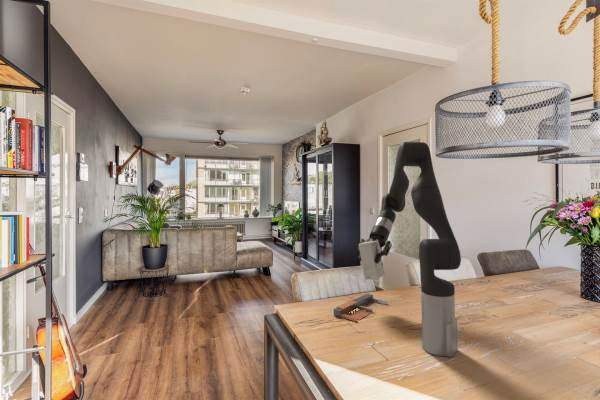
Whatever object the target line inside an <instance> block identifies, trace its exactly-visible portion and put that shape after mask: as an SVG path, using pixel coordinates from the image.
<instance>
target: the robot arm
mask: <svg viewBox="0 0 600 400" xmlns="http://www.w3.org/2000/svg"><path fill="white" fill-rule="evenodd" d="M394 164H395V165H394V171H393V178H392V182H391V185H390V187H389V191H388V192H387V193H385V194H384V195H383V196H382V198H381V205H380V206H381V207H380V212H379V215H378V217H377V219H376V221H375V222H374V224H373V226H372V229H371V231H370V233H369V237H368V239H364V238H361V239H360V241H359V244H361V243H365V242H371V241H376V246H377V249H378V253H377V255H376V257H375V260H374V262H375V263H376V264H378V263H379V262H380V260H381V257H387V256H388V255H389V253H390V251H391V249H392V247H393V244H392V242H391V240H388V239H389V236H390V234H391V231H392V229H393V225H394V222H395V220H396V218H397V214H396V213H400V212H402V211H404V209H405V208H406V194H407V192H408V189H409V186H410V180H409V177H408V175H407V173H406V171H405V169H404V168H405V167H418V168H420V172H419V173H420V174H419V176H418V177H417V178H416V180H415V182H414V184H413V185H412V188H411V190H410V196H411V201H412V205H413V209H414V211H415V212H416V213H417V214H418V216H419V217H420V218H421V219H422V220H423V221H424V222H425V223H427V224H428V225H429V226H430V227H431V228H432V229H433V230H434V232H435V234H436V235H437V237H438V238H424V239H422V240H421V241H420V243H419V246H418V258H419V270H420V271H419V272H420V273H419V274H420V290H421V294H420V295H421V298H420V299H421V346H422V349H423V350H424V351H425V352H427V353H428V354H431V355H435V356H440V357H449V358H452V357H453V356H454V355H455V354H456V353H457V351H458V350H459V349H458V348H459V347H458V346H459V345H458V343H459V342H458V341H459V340H458V338H459V337H458V335H459V334H458V318H457V317H456V305H455V304H456V303H455V302H456V301H455V300H456V294H455V288H456V287H455V285H454V283H452V282H451V281H449V280H446V279H443V278H440V277H438V276H436V274H435V271H453V270H457V269H459V268H460V266H461V263H462V258H461V256H462V255H461V251H460V247H459V244H458V242H457V238H456V237H455V234H454V231H453V229H452V227H451V225H450V222H449V219H448V216H447V213H446V212H447V211H446V209H445V205H444V201H443V197H442V194H441V191H440V188H439V185H438V181H437V178H436V175H435V170H434V166H433V159H432V154H431V150H430V146H429V145H428V144H427V142H424V141H422V142H421V141H403V142H401V143H400V145H399V146H398V149H397V154H396V158H395V163H394ZM383 247H384V248H383ZM357 250H358V252H359V254H358V256H357V257H358V260H359V262H362V261H361V256H360V250H359V245H358V247H357Z"/></svg>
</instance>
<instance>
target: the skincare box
mask: <svg viewBox="0 0 600 400" xmlns="http://www.w3.org/2000/svg"><path fill="white" fill-rule="evenodd" d="M358 246H359V250H360V252H359V254H360V256H361V261H360V262H361V266H362V270H363V276H364V277H363V278H364V280H367V281H368V280H379V279H380V278H383V277H384V276H385V275H386V273H385V269H384V268H385V267H384V263H383V258H382V257H383V256H382V257H381V260H380V262H379V263H378V264H376V263H375V262H374V260H375V257H376V255H377V253H378V249H377V246H376V241H371V242H365V243H361V244H360V243H359V244H358ZM359 250H358V251H359Z"/></svg>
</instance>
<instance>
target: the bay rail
mask: <svg viewBox="0 0 600 400" xmlns="http://www.w3.org/2000/svg"><path fill="white" fill-rule="evenodd" d="M371 302H373V303H378V304H381V305H385V306H386V305H388V301H387V300H383V299H379V298H375V297H374V294H370V293H365V294H364V295H362V296H361V295H360V296H359V297H357V298H354V299H352V300H348V301H346V302H344V303H342V304H340V305H338V306H336V308H333V316H334V315H335V316H334V317H337V316H338V317H337V318H341V317H342V319H344V320H348V319H349V320H348V321H351V320H352V322H354V321H355V322H354V323H357V322H358V321H360V320H362V319H363V317H364V318H365V316H366V317H367V316H369V315H370V314H373V313H374V308H370V307H367V306H365V305H368V304H369V303H371ZM356 308H358V309H361V310H358V311H356V310H355V313H354V311H353V310H354V309H356ZM364 310H365V311H364ZM351 311H353V314H352V313H351ZM367 311H368V312H367ZM349 312H350V313H349ZM357 319H358V320H357ZM356 321H357V322H356Z"/></svg>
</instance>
